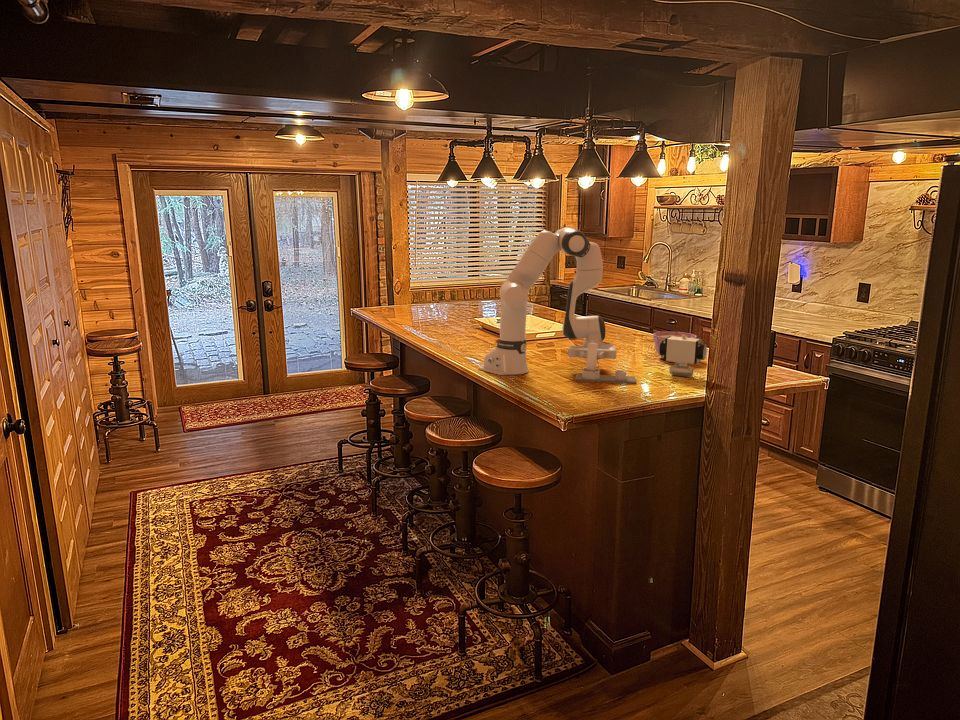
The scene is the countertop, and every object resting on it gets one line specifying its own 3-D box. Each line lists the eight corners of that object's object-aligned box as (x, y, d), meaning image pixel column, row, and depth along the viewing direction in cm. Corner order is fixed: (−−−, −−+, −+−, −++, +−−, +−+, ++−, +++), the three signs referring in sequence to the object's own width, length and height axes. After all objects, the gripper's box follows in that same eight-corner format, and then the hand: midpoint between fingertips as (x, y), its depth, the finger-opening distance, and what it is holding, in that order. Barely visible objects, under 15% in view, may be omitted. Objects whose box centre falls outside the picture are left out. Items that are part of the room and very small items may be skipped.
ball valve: (705, 376, 281) (708, 335, 277) (700, 380, 274) (704, 338, 270) (663, 371, 290) (665, 331, 286) (657, 375, 283) (660, 334, 279)
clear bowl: (643, 358, 316) (644, 334, 313) (664, 353, 329) (666, 330, 327) (682, 365, 302) (683, 340, 299) (702, 358, 316) (704, 335, 313)
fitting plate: (575, 381, 271) (576, 371, 270) (576, 376, 280) (577, 367, 279) (635, 384, 267) (636, 374, 266) (634, 378, 276) (635, 369, 275)
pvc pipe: (584, 376, 274) (586, 343, 271) (589, 375, 277) (590, 342, 274) (592, 378, 272) (594, 344, 269) (597, 376, 275) (599, 343, 272)
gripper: (568, 341, 286) (566, 347, 273) (616, 343, 282) (616, 349, 269) (567, 355, 287) (565, 362, 274) (615, 357, 284) (616, 364, 270)
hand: (591, 356), depth 272 cm, fingers open, 5 cm apart
